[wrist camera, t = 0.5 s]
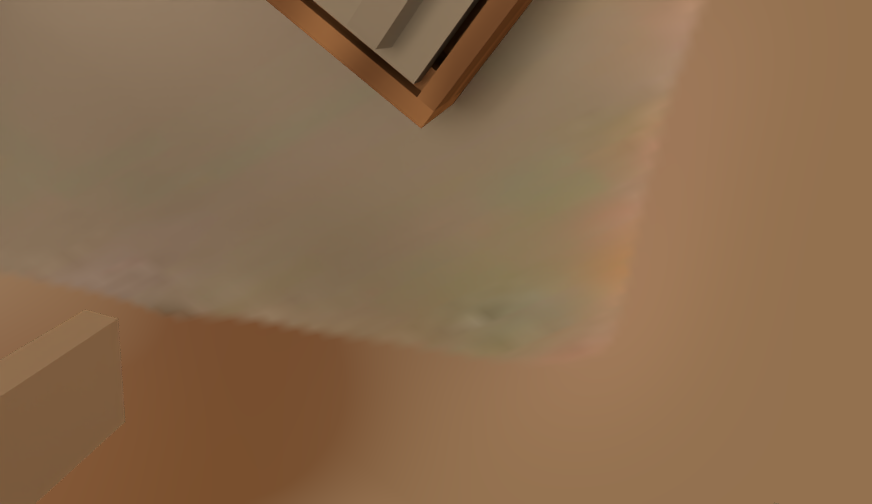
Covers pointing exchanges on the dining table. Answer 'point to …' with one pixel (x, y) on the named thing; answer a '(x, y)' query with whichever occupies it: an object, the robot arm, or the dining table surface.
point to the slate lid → (402, 28)
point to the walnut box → (444, 78)
